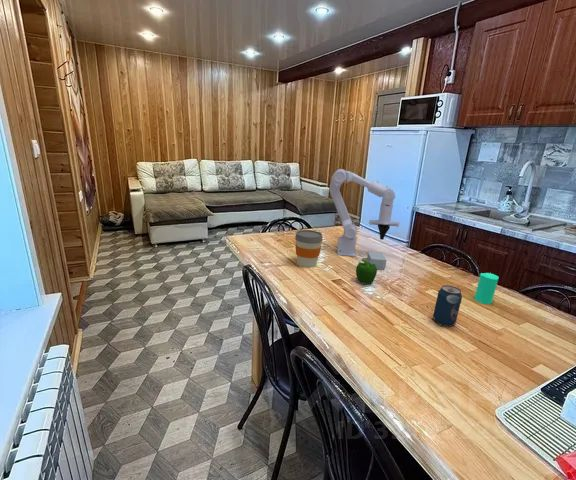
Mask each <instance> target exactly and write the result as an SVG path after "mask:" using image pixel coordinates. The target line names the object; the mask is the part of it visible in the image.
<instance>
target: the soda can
mask: <svg viewBox="0 0 576 480" xmlns="http://www.w3.org/2000/svg"><path fill="white" fill-rule="evenodd" d="M462 299H463V294H462V290H461V289H460V288H458V287H456V286H453V285H449V284H448V285H445V284H444V285H442V286H441V288H439V290H438V292H437V297H436V301H435V305H434V309H433V315H432V317H433V319H434V322H435V323H437V324H439V325H441V326H444V327H452V326H454V325H455V324H456V323H457V320H458V315H459V312H460V308H461V303H462Z"/></svg>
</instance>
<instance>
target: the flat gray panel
mask: <svg viewBox="0 0 576 480" xmlns="http://www.w3.org/2000/svg"><path fill="white" fill-rule="evenodd" d="M362 259H366V260H367V257H362ZM363 263H365V261H363ZM376 268H377V271H384V270H385V268H378V267H376Z"/></svg>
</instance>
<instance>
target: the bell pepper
mask: <svg viewBox="0 0 576 480" xmlns="http://www.w3.org/2000/svg"><path fill="white" fill-rule="evenodd" d="M360 260H361V261H360V262H358V264H357V265H356V267H355V276H356V280H357V282H358V283H363V284H364V285H372V283H373V282H374V281H375V279H376V276H377V273H378V270H377V268H376V265H375V264H371V263H369V262H368V261H367V260H366V259H360ZM364 261H365V263H364Z"/></svg>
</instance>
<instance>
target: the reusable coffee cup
mask: <svg viewBox="0 0 576 480" xmlns="http://www.w3.org/2000/svg"><path fill="white" fill-rule="evenodd" d="M294 239H295V244H294V245H295V254H296V261H297V263H296V264H297V266H300V267H302V268H306V269H307V268H308V269H310V268H314V267H316V266H317V264H318V263H317V262H318V259H319V256H320V255H321V250H322V242H323V233H322V232H320V231H317V230H311V229H301V230H298V231H296V232H295V238H294Z"/></svg>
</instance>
